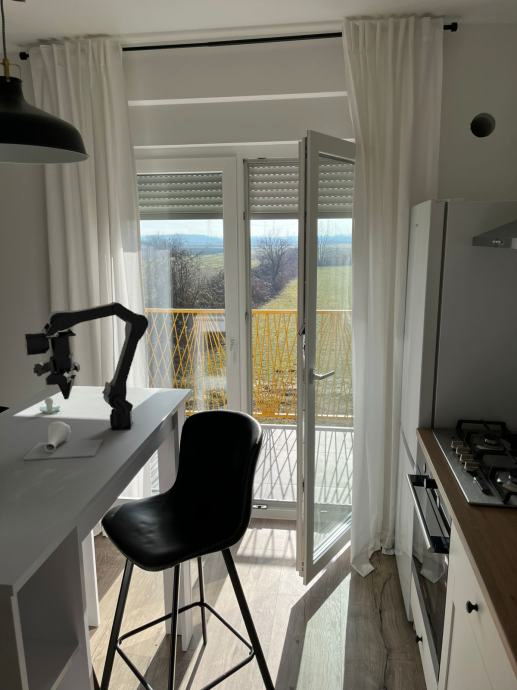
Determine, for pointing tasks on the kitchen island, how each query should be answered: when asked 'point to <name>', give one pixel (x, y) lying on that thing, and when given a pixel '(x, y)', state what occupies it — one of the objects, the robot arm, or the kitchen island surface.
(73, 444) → the mat
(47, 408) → the pacifier
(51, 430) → the flask
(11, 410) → the kitchen island surface
